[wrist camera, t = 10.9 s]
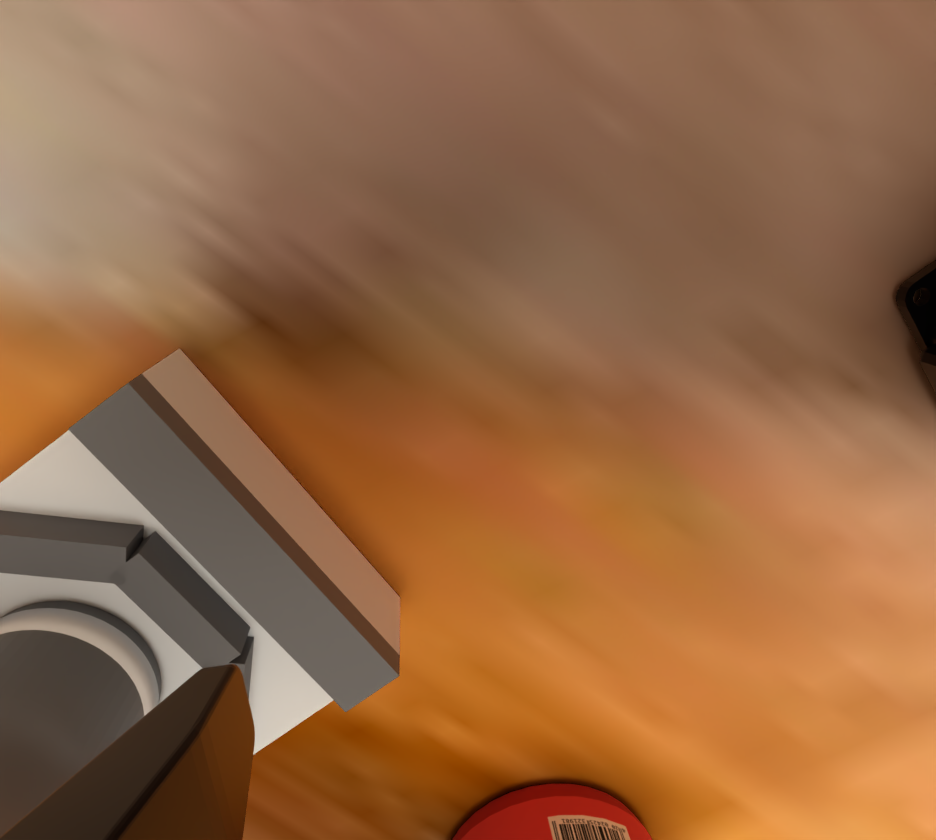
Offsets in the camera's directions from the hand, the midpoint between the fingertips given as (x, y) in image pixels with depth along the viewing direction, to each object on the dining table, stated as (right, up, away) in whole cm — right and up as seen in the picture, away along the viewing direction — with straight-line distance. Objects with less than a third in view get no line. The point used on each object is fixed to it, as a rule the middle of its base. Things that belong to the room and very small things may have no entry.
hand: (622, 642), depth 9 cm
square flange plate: (-12, -3, +13) cm, 18 cm away
